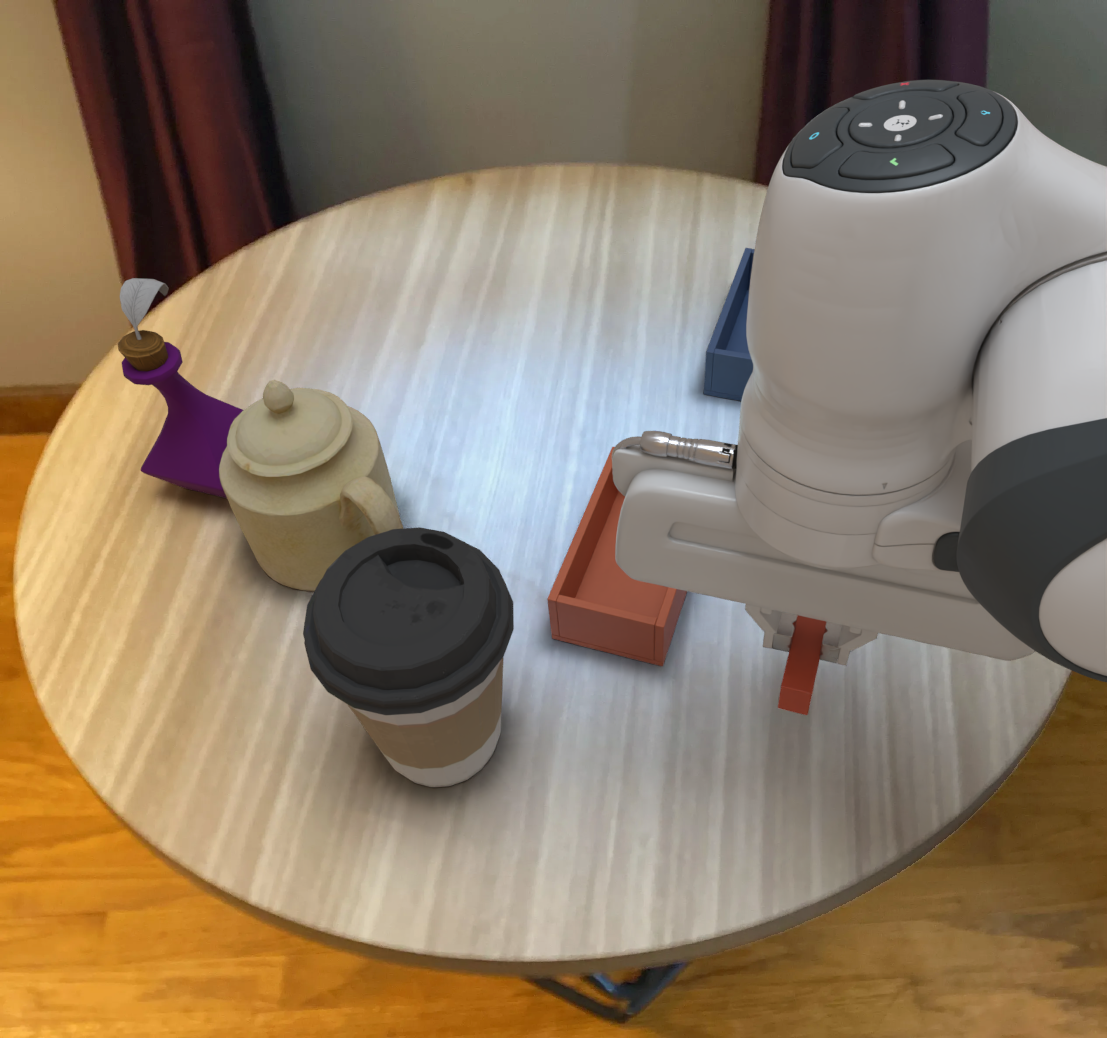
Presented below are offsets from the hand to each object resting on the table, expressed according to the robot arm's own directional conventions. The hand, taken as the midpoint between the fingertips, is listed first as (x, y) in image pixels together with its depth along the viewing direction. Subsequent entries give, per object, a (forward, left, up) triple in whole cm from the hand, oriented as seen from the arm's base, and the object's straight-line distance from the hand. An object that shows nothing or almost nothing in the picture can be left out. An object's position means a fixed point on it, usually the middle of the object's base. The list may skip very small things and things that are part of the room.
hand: (806, 646), depth 55 cm
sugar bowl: (+33, -7, -11) cm, 36 cm away
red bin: (+12, -10, -11) cm, 19 cm away
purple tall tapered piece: (+46, -10, -11) cm, 49 cm away
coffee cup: (+20, +6, -11) cm, 24 cm away
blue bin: (+8, -36, -11) cm, 39 cm away
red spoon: (0, -2, -2) cm, 3 cm away
